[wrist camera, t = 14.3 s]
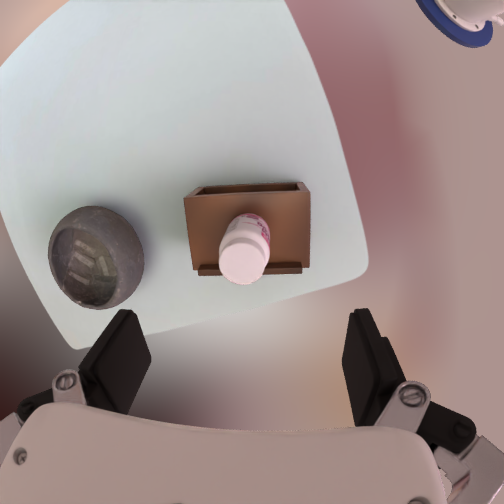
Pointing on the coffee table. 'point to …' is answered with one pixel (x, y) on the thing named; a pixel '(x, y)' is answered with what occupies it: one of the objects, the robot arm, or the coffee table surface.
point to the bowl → (96, 257)
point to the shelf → (253, 202)
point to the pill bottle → (245, 249)
